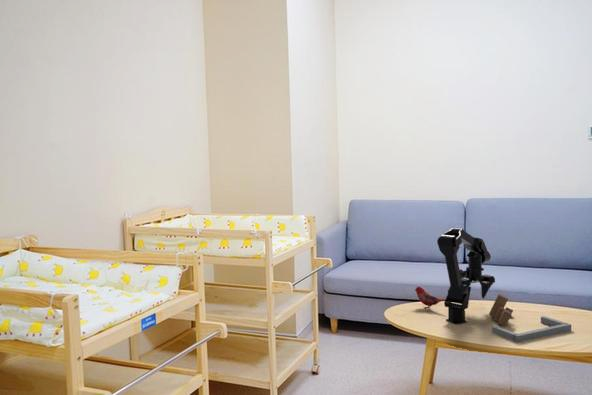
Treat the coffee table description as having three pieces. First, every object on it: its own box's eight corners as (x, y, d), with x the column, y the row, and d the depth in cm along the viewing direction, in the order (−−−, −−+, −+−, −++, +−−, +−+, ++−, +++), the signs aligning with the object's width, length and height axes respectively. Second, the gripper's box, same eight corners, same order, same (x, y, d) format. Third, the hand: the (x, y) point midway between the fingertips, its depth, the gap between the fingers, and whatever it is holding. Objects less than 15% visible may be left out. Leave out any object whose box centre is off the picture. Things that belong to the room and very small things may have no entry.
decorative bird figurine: (416, 305, 250) (416, 285, 249) (449, 312, 237) (449, 290, 236) (413, 306, 248) (412, 286, 247) (446, 313, 235) (445, 292, 234)
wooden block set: (508, 332, 215) (518, 311, 212) (487, 322, 217) (497, 301, 215) (508, 318, 231) (518, 298, 228) (489, 309, 234) (499, 289, 231)
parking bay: (517, 342, 196) (517, 336, 195) (491, 332, 207) (491, 326, 207) (571, 330, 207) (571, 324, 207) (544, 321, 219) (544, 316, 219)
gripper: (478, 260, 246) (478, 292, 247) (446, 264, 238) (447, 297, 239) (495, 264, 235) (495, 298, 236) (463, 268, 228) (463, 303, 229)
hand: (475, 299), depth 236 cm, fingers open, 9 cm apart
